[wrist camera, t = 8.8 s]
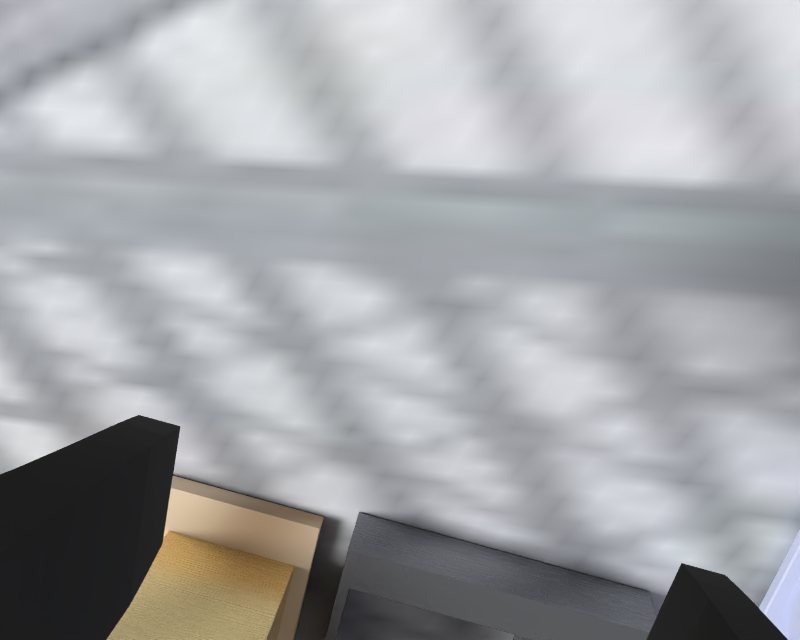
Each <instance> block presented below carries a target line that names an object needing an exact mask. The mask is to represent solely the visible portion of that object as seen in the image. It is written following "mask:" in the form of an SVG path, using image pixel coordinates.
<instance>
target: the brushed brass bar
mask: <svg viewBox="0 0 800 640" xmlns="http://www.w3.org/2000/svg"><path fill="white" fill-rule="evenodd" d="M293 570H294V565H291V564H287V563H284V562H280V561H277V560H273V559H269V558H266V557H262V556H259V555H255V554H251V553H248V552H244V551H241V550H237V549H233V548H230V547H226V546H223V545H219V544H216V543H212V542H208V541H205V540H201V539H198V538H194V537H190V536H187V535H183V534H180V533H176V532H172V531H168V532H167V534H166V535H165V537H164V538H163V544H162V546H161V548H160V550H159V552H158V554H157V555H156V557H155V559H154V561H153V563H152V565H151V567H150V569H149V571H148V573H147V575H146V577H145V579H144V580H143V582H142V584H141V586H140V588H139V590H138V591H137V593H136V595H135V597H134V599H133V601H132V602H131V604H130V606H129V607H128V609H127V610H126V612H125V613H124V615H123V616H122V618H121V619H120V621H119V622H118V624H117V625H116V626H115V628H114V629H113V631H112V632H111V634H110V635H109V636H108V638H107V639H106V640H277V638H278V634H279V630H280V625H281V621H282V617H283V612H284V608H285V604H286V600H287V595H288V591H289V587H290V582H291V578H292V574H293Z"/></svg>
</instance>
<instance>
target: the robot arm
mask: <svg viewBox="0 0 800 640" xmlns="http://www.w3.org/2000/svg"><path fill="white" fill-rule="evenodd" d="M179 431H180V426H177V425H173V424H170V423H166V422H162V421H159V420H155V419H151V418H148V417H144V416H140V415H138V416H135V417H133V418H130V419H127V420H125V421H123V422H120V423H118V424H116V425H113V426H111V427H109V428H107V429H104V430H102V431H100V432H98V433H95V434H93V435H91V436H89V437H87V438H84V439H82V440H80V441H78V442H75V443H73V444H71V445H69V446H67V447H64V448H62V449H60V450H57V451H55V452H53V453H50V454H48V455H46V456H43V457H41V458H39V459H37V460H34V461H32V462H30V463H27V464H25V465H23V466H20V467H18V468H16V469H13V470H11V471H8V472H6V473H3V474H0V640H106V639H107V638H108V636H109V635H110V634H111V632H112V631H113V629H114V628H115V626H116V625H117V624H118V622H119V621H120V619H121V618H122V616H123V615H124V613H125V612H126V610H127V609H128V607H129V606H130V604H131V602H132V601H133V599H134V597H135V595H136V593H137V591H138V590H139V588H140V586H141V584H142V582H143V580H144V579H145V577H146V575H147V573H148V571H149V569H150V567H151V565H152V563H153V561H154V559H155V557H156V555H157V554H158V552H159V550H160V548H161V546H162V544H163V537H164V531H165V524H166V518H167V511H168V504H169V498H170V491H171V484H172V478H173V471H174V464H175V458H176V451H177V444H178V438H179ZM646 640H800V530H799V532H798V534H797V536H796V538H795V540H794V542H793V544H792V545H791V547H790V549H789V551H788V553H787V555H786V557H785V559H784V561H783V563H782V565H781V567H780V568H779V570H778V572H777V574H776V576H775V578H774V580H773V582H772V584H771V586H770V588H769V590H768V591H767V593H766V595H765V597H764V599H763V601H762V603H761V605H760V607H759V608H758V607H757V606H756V605H755V604H754V603H753V602H752V601H751V600H750V599H749V598H748V597H747V596H746V595H745V594H744V593H743V592H742V591H741V590H740V589H739V588H738V587H737V586H736V585H735V584H734V583H733V582H732V581H731V580H730V579H729V578H728V577H727V576H725V575H723V574H719V573H715V572H712V571H708V570H704V569H701V568H697V567H693V566H690V565H686V564H682V563H681V566H680V568H679V570H678V572H677V574H676V576H675V579H674V581H673V583H672V585H671V587H670V589H669V592H668V594H667V596H666V598H665V600H664V602H663V605H662V607H661V609H660V611H659V613H658V615H657V618H656V620H655V622H654V624H653V626H652V628H651V631H650V633H649V635H648V637H647V639H646Z"/></svg>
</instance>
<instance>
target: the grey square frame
mask: <svg viewBox="0 0 800 640" xmlns="http://www.w3.org/2000/svg"><path fill="white" fill-rule="evenodd" d="M349 589H353V590H356V591H360V592H364V593H367V594H371V595H374V596H378V597H382V598H385V599H389V600H393V601H396V602H400V603H403V604H407V605H411V606H414V607H418V608H421V609H425V610H429V611H432V612H436V613H439V614H443V615H447V616H450V617H454V618H457V619H461V620H465V621H468V622H472V623H476V624H479V625H483V626H486V627H490V628H494V629H497V630H501V631H504V632H508V633H512V634H515V636H514V638H513V640H646V639H647V637H648V635H649V633H650V631H651V628H652V626H653V624H654V622H655V620H656V618H657V617H656V614H655V610H654V607H653V603H652V600H651V596H650V593H649V592H648V591H644V590H640V589H637V588H633V587H629V586H626V585H622V584H618V583H615V582H611V581H607V580H604V579H600V578H596V577H593V576H589V575H586V574H582V573H578V572H575V571H571V570H567V569H564V568H560V567H556V566H553V565H549V564H545V563H542V562H538V561H535V560H531V559H527V558H524V557H520V556H516V555H513V554H509V553H505V552H502V551H498V550H494V549H491V548H487V547H483V546H480V545H476V544H473V543H469V542H465V541H462V540H458V539H454V538H451V537H447V536H443V535H440V534H436V533H432V532H429V531H425V530H422V529H418V528H414V527H411V526H407V525H403V524H400V523H396V522H392V521H389V520H385V519H381V518H378V517H374V516H370V515H367V514H363V513H360V512H359V514H358V518H357V521H356V525H355V528H354V532H353V535H352V539H351V542H350V546H349V549H348V553H347V557H346V561H345V565H344V568H343V572H342V576H341V580H340V584H339V587H338V591H337V595H336V599H335V603H334V607H333V610H332V614H331V618H330V622H329V626H328V630H327V633H326V637H325V640H335V639H336V636H337V632H338V628H339V624H340V621H341V617H342V613H343V609H344V606H345V602H346V598H347V594H348V591H349Z"/></svg>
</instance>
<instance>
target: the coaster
mask: <svg viewBox="0 0 800 640" xmlns="http://www.w3.org/2000/svg"><path fill="white" fill-rule="evenodd" d="M323 519H324V517H322V516H318V515H315V514H311V513H307V512H304V511H300V510H296V509H293V508H289V507H286V506H282V505H278V504H275V503H271V502H267V501H264V500H260V499H256V498H253V497H249V496H246V495H242V494H238V493H235V492H231V491H227V490H224V489H220V488H216V487H213V486H209V485H205V484H202V483H198V482H195V481H191V480H187V479H184V478H180V477H176V476H173V478H172V484H171V491H170V498H169V504H168V511H167V518H166V524H165V531H164V537H165V535H166V534H167V532H168V531H172V532H176V533H180V534H183V535H187V536H190V537H194V538H198V539H201V540H205V541H208V542H212V543H216V544H219V545H223V546H226V547H230V548H233V549H237V550H241V551H244V552H248V553H251V554H255V555H259V556H262V557H266V558H269V559H273V560H277V561H280V562H284V563H287V564H291V565H294V570H293V574H292V578H291V582H290V587H289V591H288V595H287V600H286V604H285V608H284V612H283V617H282V621H281V625H280V630H279V634H278V638H277V640H294V639H295V635H296V631H297V626H298V622H299V618H300V614H301V610H302V606H303V602H304V598H305V593H306V589H307V585H308V581H309V577H310V573H311V569H312V564H313V560H314V556H315V552H316V548H317V544H318V540H319V536H320V531H321V527H322V523H323ZM164 537H163V538H164Z"/></svg>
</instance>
